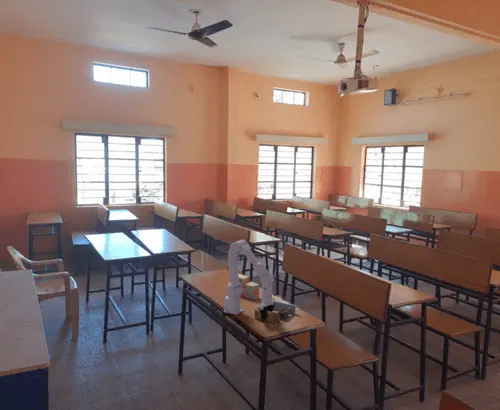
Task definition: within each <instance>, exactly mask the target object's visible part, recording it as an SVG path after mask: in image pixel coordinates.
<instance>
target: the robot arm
mask: <svg viewBox="0 0 500 410" xmlns="http://www.w3.org/2000/svg"><path fill="white" fill-rule="evenodd" d="M239 255H243V256H246V258H247V259H248V260H249V261H250V263H251V264H252V265H253V270H254V271H255V273H256V274H257V276H258V277H259V278H260V283H261V286H262V287H261V288H262V290H261V303H260V305H258V307H259V308H258V307H257V308H258V309H259V311H260V313H261V316H262V319H263V320H262V321H264V320H266V316H267V312H268V311H271V312H274V309H273V308H274V306H275V303H273V302H274V301H275V298H273V282H274V281H275V277H274V274H273V272H271V271H269V270H267V267H266V266H265V264H264V263H263V262H259V260H258V259H257V257H256V256H255V254H254V252H253V251H252V249H251V246H250V244H249V243H248V241H247V240H246V239H244V238H242V239H240V240H237V241H234V242H232V243H231V244H230V245H229V250H228V251H227V258H228V259H227V260H228V276H229V277H228V279H229V282H228V285H227V286H226V292H225V295H226V296H225V298H224V300H223V303H224V304H223V312H224V313H226V314H231V315H235V316H237V315H239V314H240V313H241V312H244V309H243V308H241V307H242V306H241V300H242V298H241V297H242V296H241V294H242V292H243V288H242V286H241V283H240V282H239V276H238V274H239V264H238V256H239ZM266 306H267V309H266V308H265V307H266Z"/></svg>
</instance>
